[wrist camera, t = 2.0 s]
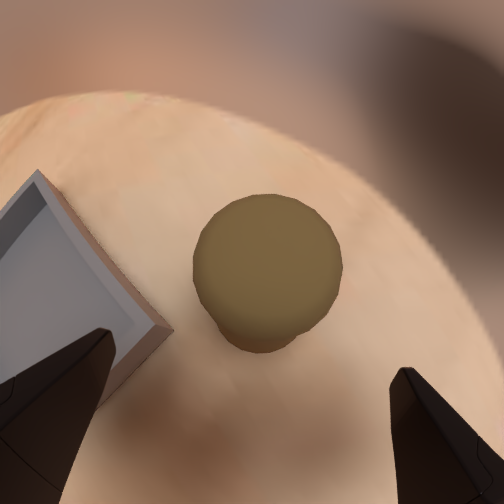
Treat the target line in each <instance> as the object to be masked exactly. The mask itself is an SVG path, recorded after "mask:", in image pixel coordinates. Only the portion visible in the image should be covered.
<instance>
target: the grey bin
mask: <svg viewBox="0 0 504 504" xmlns="http://www.w3.org/2000/svg"><path fill="white" fill-rule="evenodd" d="M99 327H102V328H106V329H109V330H111V331H112V334H113V338H114V342H115V345H116V355H115V358H114V361H113V364H112V367H111V370H110V373H109V376H108V379H107V382H106V385H105V388H104V391H103V394H102V396H101V399H100V401H99V403H98V405H97V408H98V407H99V406H100V405H101V404H102V403H103V402H104V401H105V400H106V399H107V398H108V397H109V396H110V395H111V394H112V393H113V392H114V391H115V390H116V389H117V388H118V387H119V386H120V385H121V384H122V383H123V382H124V381H125V380H126V379H127V378H128V377H129V376H130V375H131V374H132V373H133V372H134V370H135V369H136V368H137V367H138V366H139V365H140V364H141V363H142V362H143V361H144V360H145V359H146V358H147V357H148V356H149V355H150V354H151V353H152V352H153V351H154V350H155V349H156V348H157V347H158V346H159V345H160V344H161V343H162V342H163V341H164V340H165V339H166V338H167V337H168V336H169V335H170V334H171V333H172V332H173V331H174V330H173V329H172V328H171V327H170V326H169V324H168V323H167V322H166V321H165V320H164V319H163V318H162V317H161V316H160V315H159V314H158V313H157V312H156V311H155V309H154V308H153V307H152V306H151V305H150V304H149V303H148V302H147V301H146V300H145V298H144V297H143V296H142V295H141V294H140V293H139V292H138V291H137V289H136V288H135V287H134V286H133V285H132V284H131V283H130V281H129V280H128V279H127V278H126V277H125V275H124V274H123V273H122V272H121V271H120V270H119V268H118V267H117V266H116V265H115V264H114V262H113V261H112V260H111V259H110V257H109V256H108V255H107V254H106V252H105V251H104V250H103V249H102V247H101V246H100V245H99V244H98V242H97V241H96V240H95V238H94V237H93V236H92V235H91V233H90V232H89V231H88V229H87V228H86V227H85V225H84V224H83V223H82V221H81V220H80V219H79V217H78V216H77V215H76V213H75V212H74V210H73V209H72V208H71V206H70V205H69V203H68V202H67V201H66V199H65V198H64V196H63V195H62V193H61V192H60V191H59V190H58V189H57V188H56V187H55V186H54V185H53V184H52V183H51V182H50V181H49V180H48V179H47V178H46V177H45V176H44V175H43V174H42V173H41V172H40V171H39V170H38V169H37V170H36V171H35V172H34V173H33V174H32V175H31V176H30V177H29V179H28V180H27V181H26V182H25V183H24V184H23V185H22V186H21V187H20V188H19V190H18V191H17V192H16V193H15V194H14V195H13V196H12V198H11V199H10V200H9V201H8V202H7V204H6V205H5V206H4V207H3V208H2V210H1V211H0V384H1V383H3V382H5V381H6V380H8V379H10V378H12V377H13V376H15V377H16V375H17V374H19V373H20V372H22V371H24V370H25V369H27V368H29V367H31V366H32V365H34V364H36V363H37V362H39V361H41V360H43V359H44V358H46V357H48V356H49V355H51V354H53V353H55V352H56V351H58V350H60V349H62V348H63V347H65V346H67V345H69V344H70V343H72V342H74V341H75V340H77V339H79V338H81V337H82V336H84V335H86V334H88V333H89V332H91V331H93V330H95V329H96V328H99ZM97 408H96V409H97Z"/></svg>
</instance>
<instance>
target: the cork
mask: <svg viewBox="0 0 504 504" xmlns="http://www.w3.org/2000/svg"><path fill="white" fill-rule="evenodd" d="M342 270H343V264H342V257H341V251H340V245H339V243H338V241H337V239H336V237H335V235H334V233H333V231H332V229H331V227H330V225H329V224H328V223H327V222H326V221H325V220H324V219H323V218H322V217H321V216H320V215H319V214H318V213H317V212H316V211H315V210H314V209H312V208H311V207H309V206H307V205H305V204H304V203H302V202H300V201H298V200H297V199H293V198H289V197H285V196H281V195H277V194H261V195H251V196H248V197H245V198H242V199H239V200H236V201H233V202H231V203H230V204H228V205H227V206H226V207H224V208H223V209H221V210H220V211H219V212H217V213H216V214H214V216H213V217H212V218H211V220H210V221H209V222H208V224H207V225H206V226H205V228H204V229H203V230H202V232H201V234H200V237H199V240H198V243H197V245H196V248H195V251H194V255H193V282H194V285H195V288H196V291H197V294H198V297H199V299H200V302H201V304H202V305H203V306H204V308H205V309H206V310H207V312H208V313H209V314H210V316H211V317H212V318H213V319H214V321H215V322H216V323H217V325H218V328H219V330H220V331H221V333H222V334H223V335H224V336H225V338H226V339H227V340H228V341H229V342H230V343H232V344H233V345H235V346H236V347H238V348H239V349H241V350H244V351H248V352H252V353H271V352H273V351H276V350H278V349H281V348H283V347H285V346H286V345H287V344H289V343H290V342H291V341H292V340H293V339H295V338H296V336H298V335H300V334H302V333H305V332H307V331H309V330H310V329H311V328H312V327H314V326H315V325H316V324H317V323H318V322H319V321H320V320H321V319H323V318H324V317H325V316H326V315H327V313H328V312H329V310H330V308H331V306H332V304H333V303H334V301H335V299H336V297H337V296H338V292H339V287H340V281H341V276H342Z"/></svg>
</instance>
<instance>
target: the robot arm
mask: <svg viewBox="0 0 504 504" xmlns="http://www.w3.org/2000/svg"><path fill="white" fill-rule="evenodd" d="M115 355H116V345H115V342H114V338H113V334H112V331H111V330H109V329H106V328H102V327H99V328H96V329H95V330H93V331H91V332H89V333H88V334H86V335H84V336H82V337H81V338H79V339H77V340H75V341H74V342H72V343H70V344H69V345H67V346H65V347H63V348H62V349H60V350H58V351H56V352H55V353H53V354H51V355H49V356H48V357H46V358H44V359H43V360H41V361H39V362H37V363H36V364H34V365H32V366H31V367H29V368H27V369H25V370H24V371H22V372H20V373H19V374H17V375H16V377H15V376H13V377H12V378H10V379H8V380H6V381H5V382H3V383H1V384H0V504H59V501H60V499H61V496H62V492H63V490H64V487H65V484H66V481H67V479H68V476H69V473H70V471H71V468H72V465H73V463H74V460H75V458H76V455H77V453H78V450H79V448H80V445H81V443H82V440H83V438H84V435H85V433H86V431H87V428H88V426H89V424H90V421H91V419H92V417H93V414H94V412H95V410H96V408H97V405H98V403H99V401H100V399H101V396H102V394H103V391H104V388H105V385H106V382H107V379H108V376H109V373H110V370H111V367H112V364H113V361H114V358H115ZM389 394H390V415H391V434H392V442H393V451H394V459H395V469H396V480H397V493H398V504H504V460H503V459H502V458H501V457H500V456H499V455H498V454H497V453H496V452H495V451H494V450H493V449H492V448H491V447H490V446H489V445H488V444H487V443H486V442H485V441H484V440H483V439H482V438H481V437H480V436H478V434H477V433H476V432H475V431H474V430H473V429H472V428H471V426H470V425H469V424H468V423H467V422H466V421H465V420H464V419H463V418H462V417H461V416H460V415H459V414H458V413H457V412H456V411H455V410H454V409H453V408H452V407H451V406H450V405H449V404H448V403H447V401H446V400H445V399H444V398H443V397H442V396H441V395H440V394H439V393H438V392H437V391H436V390H435V389H434V388H433V387H432V386H431V385H430V384H429V383H428V382H427V381H426V380H425V379H424V378H423V377H422V376H421V375H420V374H419V373H418V372H417V371H416V370H415V369H414V368H412V367H402V368H400V369H399V370H398V372H397V374H396V376H395V377H394V379H393V381H392V382H391V384H390V388H389Z"/></svg>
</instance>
